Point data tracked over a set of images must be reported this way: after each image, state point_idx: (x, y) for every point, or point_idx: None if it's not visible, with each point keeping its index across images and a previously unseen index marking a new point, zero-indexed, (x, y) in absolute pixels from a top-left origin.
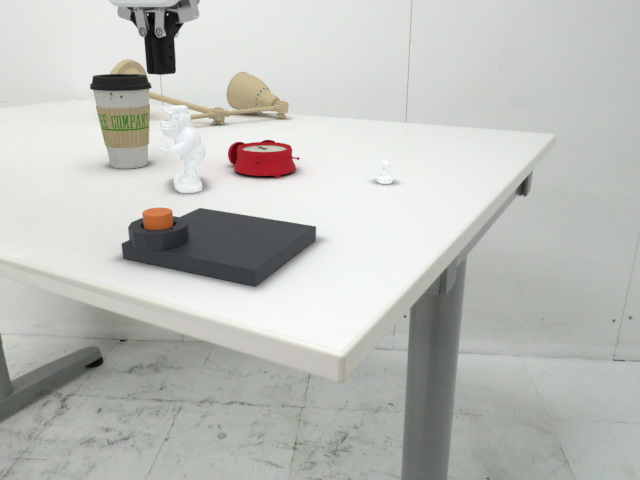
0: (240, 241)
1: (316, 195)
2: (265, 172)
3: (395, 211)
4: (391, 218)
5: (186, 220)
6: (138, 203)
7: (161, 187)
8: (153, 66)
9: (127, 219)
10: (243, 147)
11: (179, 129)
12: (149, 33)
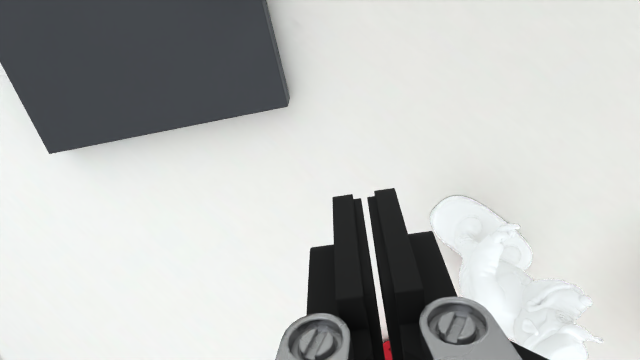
0: (64, 6)
1: (241, 312)
2: (387, 347)
3: (89, 314)
4: (68, 287)
5: (240, 30)
6: (479, 97)
7: (519, 198)
8: (359, 209)
9: (415, 11)
10: None
11: (524, 304)
12: (420, 337)
